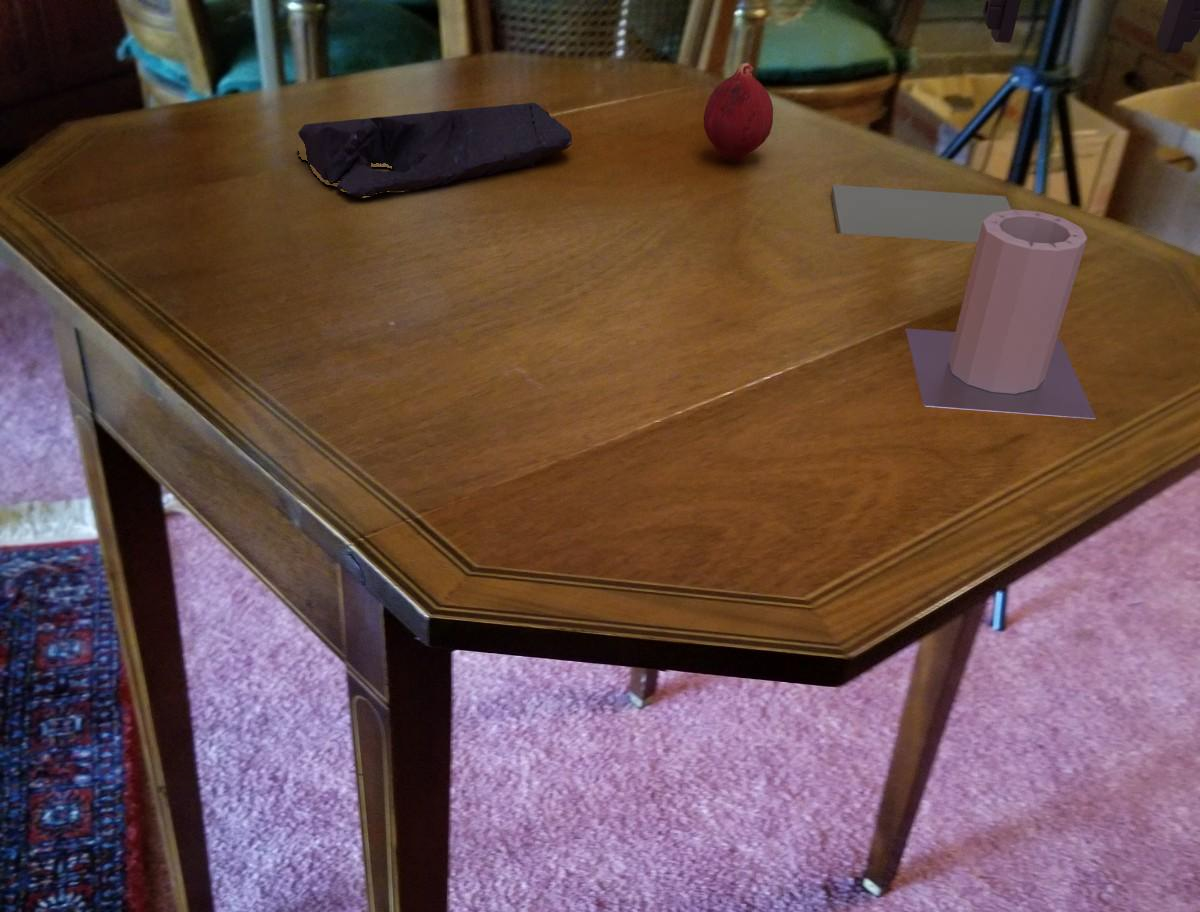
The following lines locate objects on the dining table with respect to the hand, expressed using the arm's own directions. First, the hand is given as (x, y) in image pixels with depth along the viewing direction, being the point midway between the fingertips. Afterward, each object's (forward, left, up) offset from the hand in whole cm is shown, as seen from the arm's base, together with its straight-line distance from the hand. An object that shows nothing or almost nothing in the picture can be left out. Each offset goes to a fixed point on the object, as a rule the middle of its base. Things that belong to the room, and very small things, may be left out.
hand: (1082, 44), depth 63 cm
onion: (+16, -36, -20) cm, 45 cm away
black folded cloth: (+41, -32, -20) cm, 56 cm away
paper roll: (0, +1, -19) cm, 19 cm away
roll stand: (0, +1, -20) cm, 20 cm away
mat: (+1, -21, -20) cm, 29 cm away
